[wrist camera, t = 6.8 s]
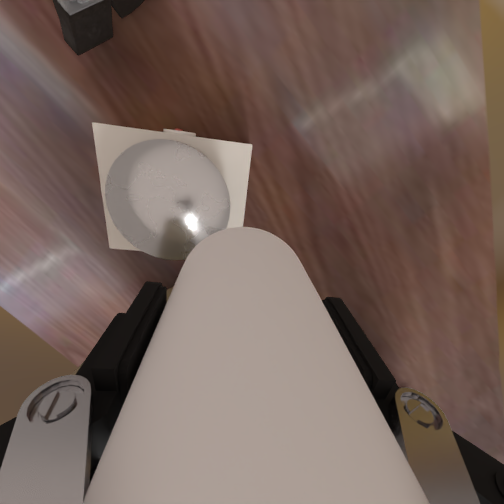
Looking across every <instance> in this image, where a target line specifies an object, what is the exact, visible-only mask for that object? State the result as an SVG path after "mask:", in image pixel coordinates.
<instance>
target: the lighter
mask: <svg viewBox="0 0 504 504" xmlns="http://www.w3.org/2000/svg"><path fill="white" fill-rule="evenodd" d="M143 1H144V0H53V2H54V5H55V8H56V11H57V13H58V16H59V19H60V23H61V27H62V32H63V36H64V40H65V41H66V43H67V44H68V45H69V46H70V47H71V48H72V49H73V50H74V52H75V53H76V54H77V55H81V54H82V53H84V52H86V51H88V50H90V49H92V48H94V47H96V46H97V45H99V44H101V43H103V42H105V41H107V40H109V39H110V38H112V37H113V29H112V10H111V6H112V7H113V8H114V10H115V11H116V12H117V13H118V15H119V16H120V17H121V18H124V17H125V16H127V15H128V14H130V13H131V12H133V11H134V10H135V9H136V8H137V7H138V6H139V5H140V4H141V3H142V2H143Z"/></svg>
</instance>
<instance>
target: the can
mask: <svg viewBox="0 0 504 504" xmlns="http://www.w3.org/2000/svg"><path fill="white" fill-rule="evenodd" d="M83 504H430V503H429V501H428V499H427V497H426V496H425V494H424V492H423V490H422V488H421V486H420V484H419V482H418V480H417V478H416V477H415V475H414V473H413V471H412V469H411V467H410V465H409V463H408V461H407V460H406V458H405V456H404V454H403V452H402V450H401V448H400V446H399V444H398V442H397V441H396V439H395V437H394V435H393V433H392V431H391V429H390V427H389V426H388V424H387V422H386V420H385V418H384V416H383V414H382V412H381V411H380V409H379V407H378V405H377V403H376V401H375V399H374V397H373V396H372V394H371V392H370V390H369V388H368V386H367V384H366V382H365V381H364V379H363V377H362V375H361V373H360V371H359V369H358V367H357V366H356V364H355V362H354V360H353V358H352V356H351V354H350V353H349V351H348V349H347V347H346V345H345V343H344V341H343V339H342V338H341V336H340V334H339V332H338V330H337V328H336V326H335V325H334V323H333V321H332V319H331V317H330V315H329V313H328V312H327V310H326V308H325V306H324V304H323V302H322V300H321V299H320V297H319V295H318V293H317V291H316V289H315V287H314V286H313V284H312V282H311V280H310V278H309V276H308V275H307V273H306V271H305V269H304V267H303V265H302V264H301V262H300V260H299V258H298V257H297V255H296V254H295V252H294V251H293V250H292V249H291V247H290V246H289V245H288V244H286V243H285V242H284V241H283V240H281V239H280V238H278V237H277V236H275V235H273V234H271V233H269V232H267V231H264V230H261V229H257V228H251V227H235V228H228V229H224V230H221V231H218V232H216V233H213V234H211V235H210V236H208V237H206V238H205V239H203V240H202V241H201V242H199V243H198V244H197V245H196V246H195V247H194V248H193V250H192V251H191V252H190V254H189V255H188V257H187V259H186V260H185V263H184V265H183V267H182V269H181V271H180V273H179V276H178V278H177V280H176V283H175V285H174V287H173V289H172V292H171V294H170V296H169V299H168V301H167V303H166V306H165V308H164V310H163V313H162V315H161V317H160V320H159V322H158V324H157V327H156V329H155V331H154V334H153V336H152V338H151V341H150V343H149V345H148V348H147V350H146V352H145V355H144V357H143V359H142V362H141V364H140V367H139V369H138V371H137V374H136V376H135V378H134V381H133V383H132V385H131V388H130V390H129V392H128V395H127V397H126V399H125V402H124V404H123V407H122V409H121V411H120V414H119V416H118V418H117V421H116V423H115V425H114V428H113V430H112V433H111V435H110V437H109V440H108V442H107V444H106V447H105V449H104V451H103V454H102V456H101V459H100V461H99V463H98V466H97V468H96V470H95V473H94V475H93V478H92V480H91V482H90V485H89V487H88V489H87V492H86V495H85V498H84V501H83Z"/></svg>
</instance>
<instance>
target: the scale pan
mask: <svg viewBox="0 0 504 504" xmlns="http://www.w3.org/2000/svg"><path fill="white" fill-rule="evenodd" d="M105 199H106V204H107V209H108V212H109V214H110V217H111V219H112V221H113V223H114V224H115V226H116V228H117V229H118V230H119V232H120V233H121V234H122V235H123V236H124V237H125V238H126V239H127V240H128V241H129V242H130V243H131V244H132V245H134V246H135V247H136V248H138V249H139V250H141V251H143V252H145V253H147V254H149V255H152V256H154V257H158V258H162V259H168V260H185V259H187V257H188V255H189V254H190V252H191V251H192V250H193V248H194V247H195V246H196V245H197V244H198V243H199V242H201V241H202V240H203V239H205V238H206V237H208V236H210V235H211V234H213V233H216V232H218V231H221V230H224V229H226V228H227V225H228V221H229V216H230V195H229V191H228V187H227V185H226V182H225V180H224V178H223V176H222V174H221V172H220V171H219V169H218V168H217V167H216V165H215V164H214V163H213V162H212V161H211V160H210V159H209V158H208V157H207V156H206V155H204V154H203V153H202V152H200V151H199V150H197V149H196V148H194V147H192V146H190V145H188V144H185V143H182V142H179V141H174V140H167V139H153V140H147V141H142V142H140V143H137V144H134V145H132V146H131V147H129V148H127V149H126V150H125V151H124V152H122V153H121V154H120V155H119V156H118V157H117V159H116V160H115V161H114V163H113V164H112V166H111V168H110V170H109V173H108V175H107V179H106V184H105Z"/></svg>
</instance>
